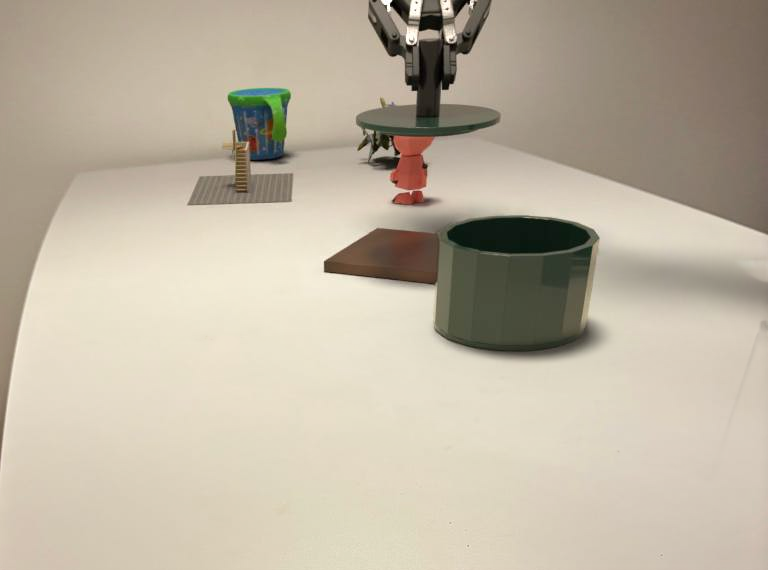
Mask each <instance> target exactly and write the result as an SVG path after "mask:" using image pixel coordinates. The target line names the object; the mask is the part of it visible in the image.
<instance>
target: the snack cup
mask: <svg viewBox="0 0 768 570" xmlns="http://www.w3.org/2000/svg"><path fill="white" fill-rule="evenodd" d="M291 97H292V93H291V91H290V89H288V88H283V87H253V88H252V87H251V88H244V89H237V90H233V91H229V93H228V94H227V101H228V103H229V106H230V107H231V110H232V115H233V117H232V118H233V123H234V128H235V133H236V139H237V142H249V151H250V161H252V160H253V161H258V160H259V161H263V160H273V159H277V158H279V157H281V156H283V155H284V151H285V140H286V138H287V133H288V131H287V119H288V106H289V102H290V100H291Z"/></svg>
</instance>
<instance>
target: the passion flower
mask: <svg viewBox="0 0 768 570" xmlns="http://www.w3.org/2000/svg"><path fill="white" fill-rule="evenodd" d="M379 101H380V105H381V108H383V107H391V106H398V105H397V104H395V102H394V101H391V103H386V101H385V98H384V97H382V96H381V97H380V98H379ZM410 105H414V104H413V103H411V104H410ZM361 130H362V135H363V136H365V137H364V139H363V140H362V141H361V143H359V145H358V147H357V152H359V151H361V150H362V149H363V148H364V147H366V146H368V144H370V149H369V152H368V159H367V165H369V163H370V162H371V159H372V157H373V155H375V153H376V152H378V151H379V149H381V148H383V149H384V151H389V149H390V147H389V148H387V147H388V146H390V145H392V144H394V141H386V140H393V139H394V136H393V135H387V134H382V133H379V132H377V131H373V133H370V134H369V132H367V131H366V130H367V129H364V128H361ZM390 142H391V144H390ZM391 147H392V148H393V151H394V155H393V156H394V157H395V156H396V157H398V156H401V153H400V152H399V151H398V150H397V149H396V148H395V144H394V145H392V146H391ZM386 148H387V149H386Z"/></svg>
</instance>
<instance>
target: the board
mask: <svg viewBox="0 0 768 570" xmlns="http://www.w3.org/2000/svg"><path fill="white" fill-rule="evenodd" d="M438 233H439V232H428V231H427V232H426V231H417V230H416V231H415V230H404V229H395V228H394V229H393V228H381V227H375V228H374V229H373V230H372V231H370V232H368V233H366V234H365V235H363V236H361V237H360V238H359V239H357V240H355V241H354V242H353V243H350V244H349V245H347V246H346V247H344V248H343V249H341V250H339V251H337V252H336V253H335V254H333V255H331V256H330V257H328V258H326V259H325V260H324V261H323V272H326V273H335V274H343V275H353V276H360V277H361V276H362V277H371V278H378V279H388V280H398V281H406V282H416V283H425V284H432V285H435V283H436V266H437V249H438Z"/></svg>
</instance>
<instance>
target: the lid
mask: <svg viewBox="0 0 768 570" xmlns="http://www.w3.org/2000/svg"><path fill="white" fill-rule="evenodd" d="M443 45H444V39H440V38H439V37H438V38H437V37H431V38H421V39H418V46H419V71H420V78H419V88H418V91H416V100H415V101H416V102H415V104H413V105H411V104H402V105H401V104H400V105H397V106H391V107H378V108H377V107H376V108H373V109H369V110H366V111H363V112H360V113H358V114H357V115H356V116H355V124H356V126H358V127H359V128H360V129H362V128H364V129H365V130H368V131H373V132H374V131H377V132H379V133H382V134H387V135H393V136H404V137H435V138H440V137H450V136H460V135H465V134H470V133H473V132H477V131H479V130H483V129H487V128H491V127H494V126H495V125H498V124H499V123H500V122H501V117H502V115H501V112H499V111H498V110H496V109H493V108H489V107H485V106H479V105H469V104H454V103H441V101H442V100H441V98H442V63H443Z"/></svg>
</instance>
